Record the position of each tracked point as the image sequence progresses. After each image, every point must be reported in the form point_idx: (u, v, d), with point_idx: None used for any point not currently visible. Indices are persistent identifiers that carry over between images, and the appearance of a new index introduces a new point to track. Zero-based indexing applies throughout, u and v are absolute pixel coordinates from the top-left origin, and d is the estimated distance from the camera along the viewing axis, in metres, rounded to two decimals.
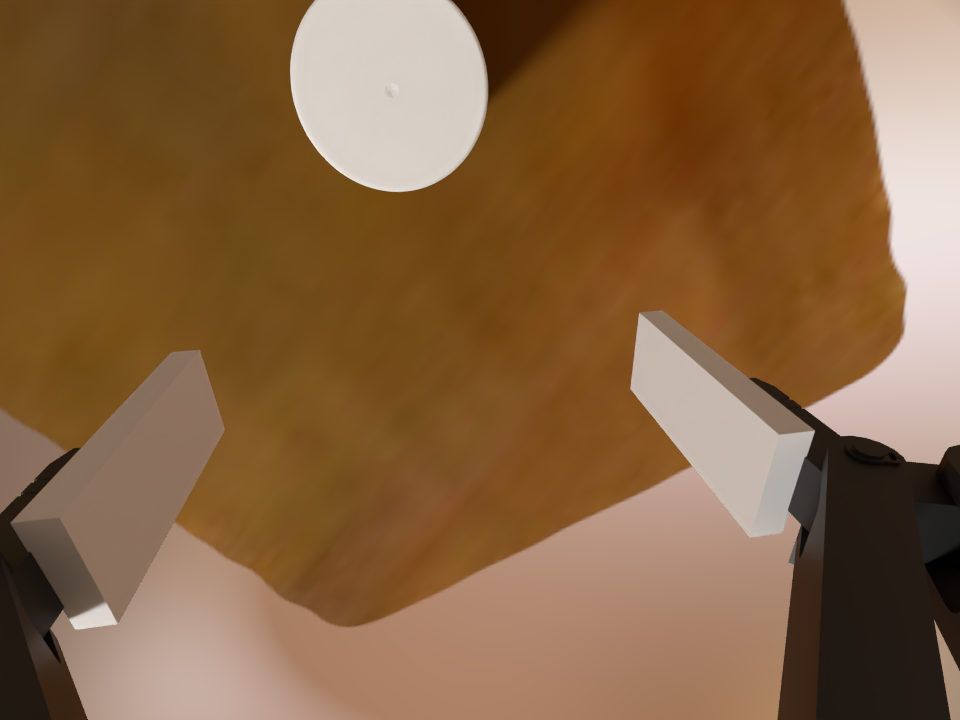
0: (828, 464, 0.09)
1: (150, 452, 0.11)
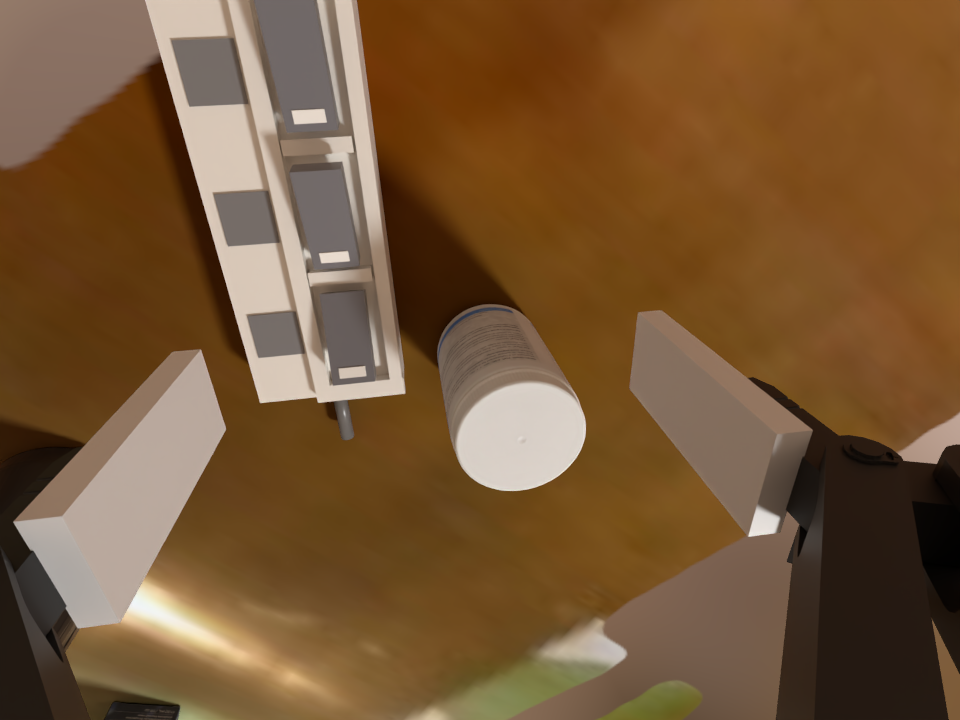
0: (826, 464, 0.09)
1: (152, 451, 0.11)
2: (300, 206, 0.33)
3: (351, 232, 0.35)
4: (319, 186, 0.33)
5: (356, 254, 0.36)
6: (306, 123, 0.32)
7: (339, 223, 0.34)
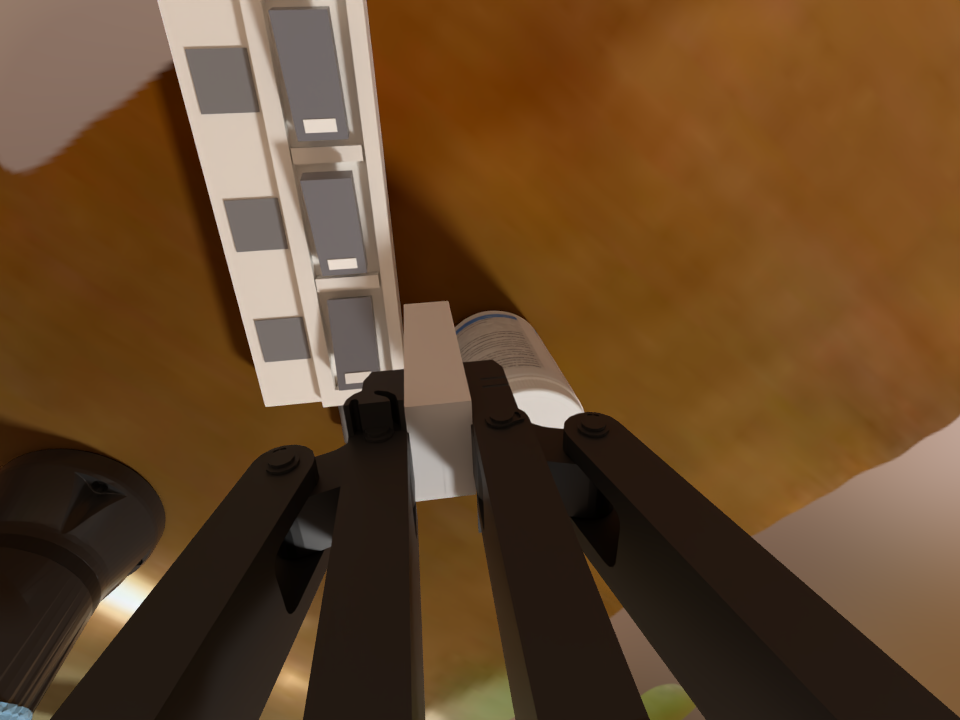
0: (477, 441, 0.10)
1: None
2: (310, 214, 0.34)
3: (359, 239, 0.35)
4: (329, 194, 0.33)
5: (364, 261, 0.36)
6: (317, 132, 0.32)
7: (348, 231, 0.35)
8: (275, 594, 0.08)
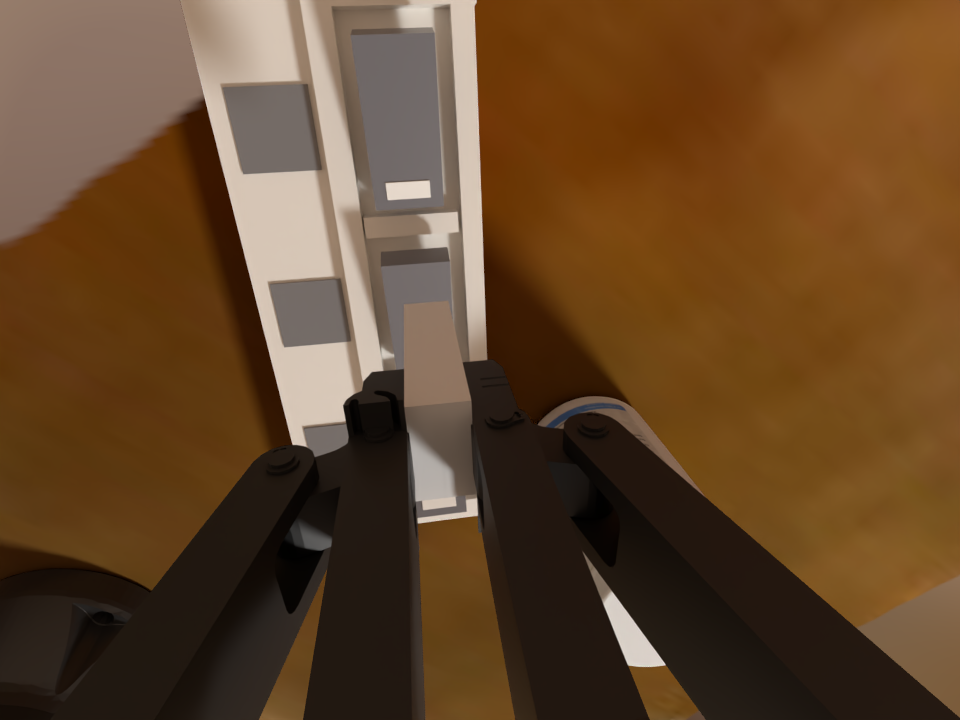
0: (477, 441, 0.10)
1: None
2: (390, 306, 0.25)
3: None
4: (418, 282, 0.24)
5: None
6: (403, 198, 0.23)
7: None
8: (275, 594, 0.08)
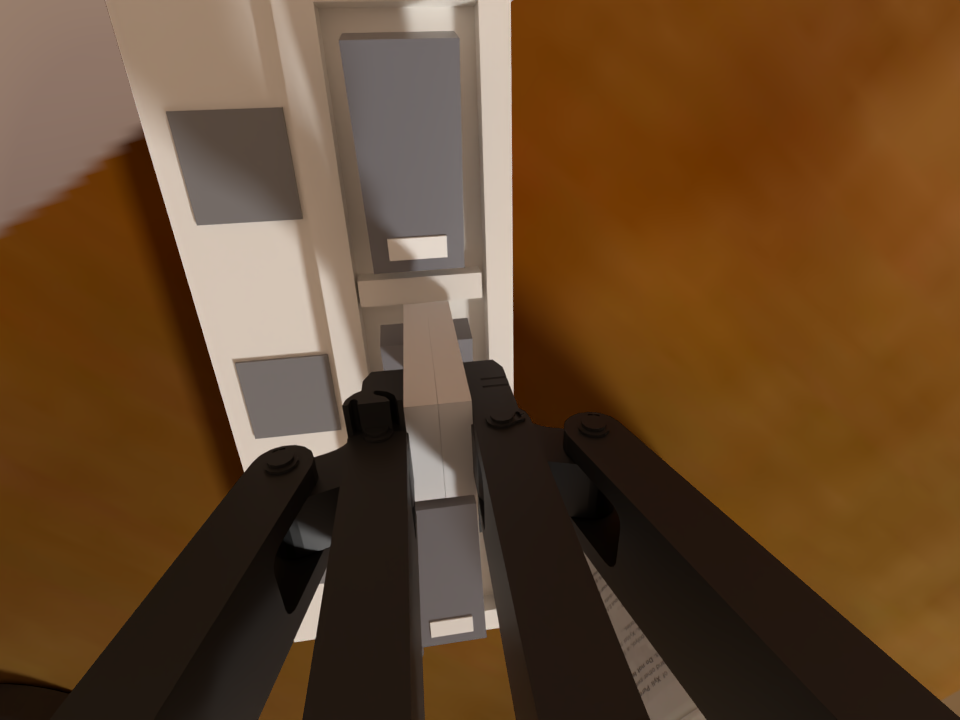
0: (478, 441, 0.10)
1: None
2: None
3: None
4: None
5: None
6: (411, 259, 0.18)
7: None
8: (274, 594, 0.08)
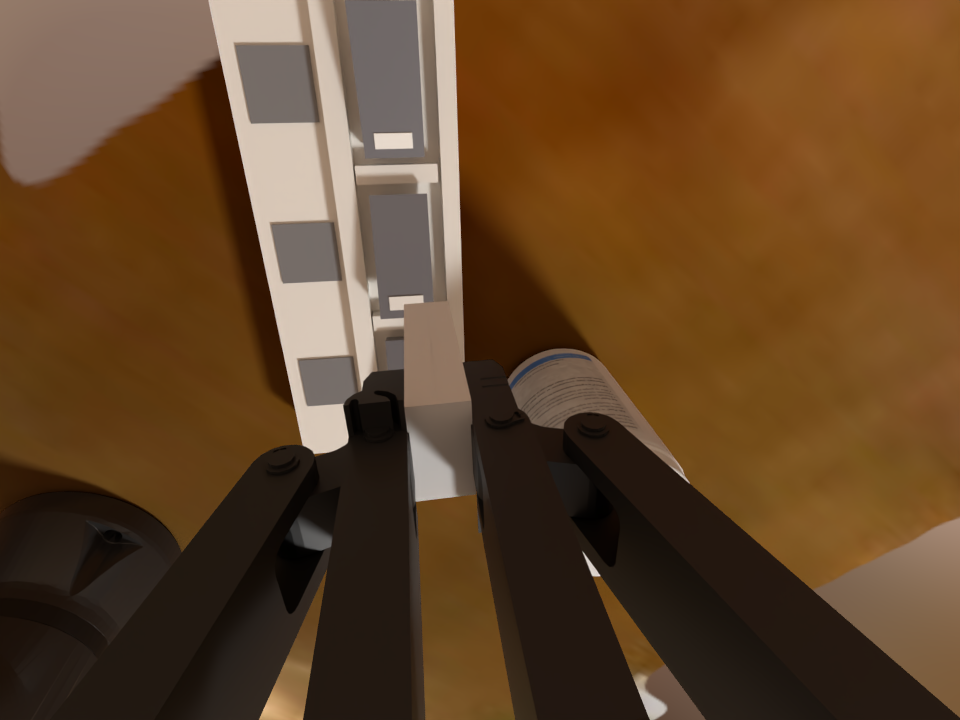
0: (477, 441, 0.10)
1: None
2: (375, 236, 0.29)
3: (429, 271, 0.30)
4: (400, 213, 0.28)
5: (432, 300, 0.30)
6: (389, 148, 0.27)
7: (417, 259, 0.29)
8: (275, 594, 0.08)
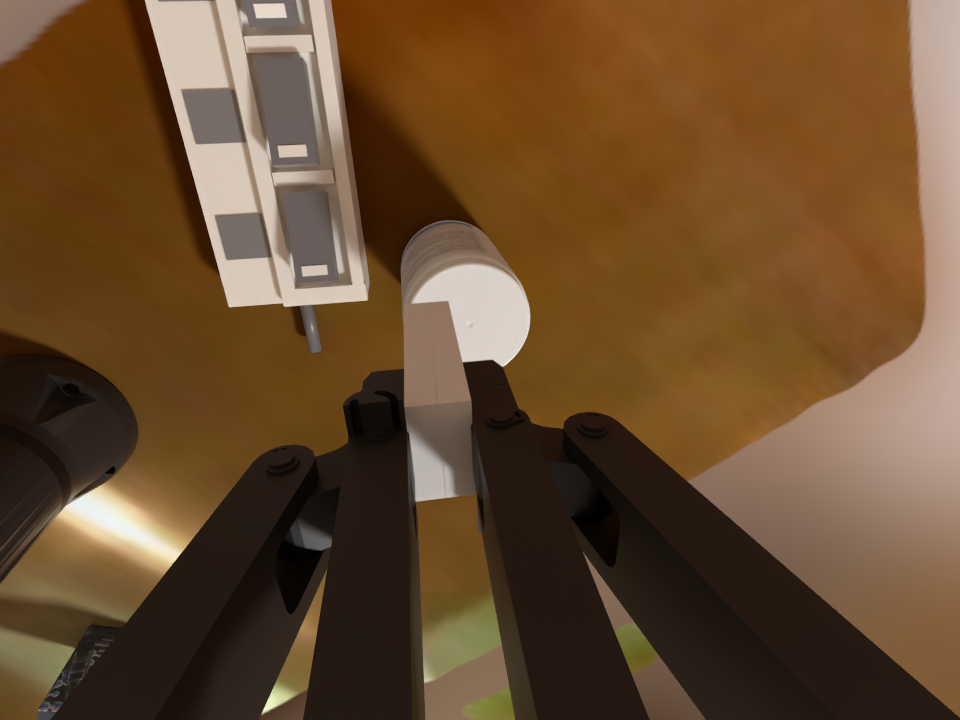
0: (478, 441, 0.10)
1: None
2: (263, 93, 0.36)
3: (310, 124, 0.37)
4: (282, 73, 0.36)
5: (314, 149, 0.37)
6: (267, 17, 0.34)
7: (299, 113, 0.36)
8: (275, 594, 0.08)
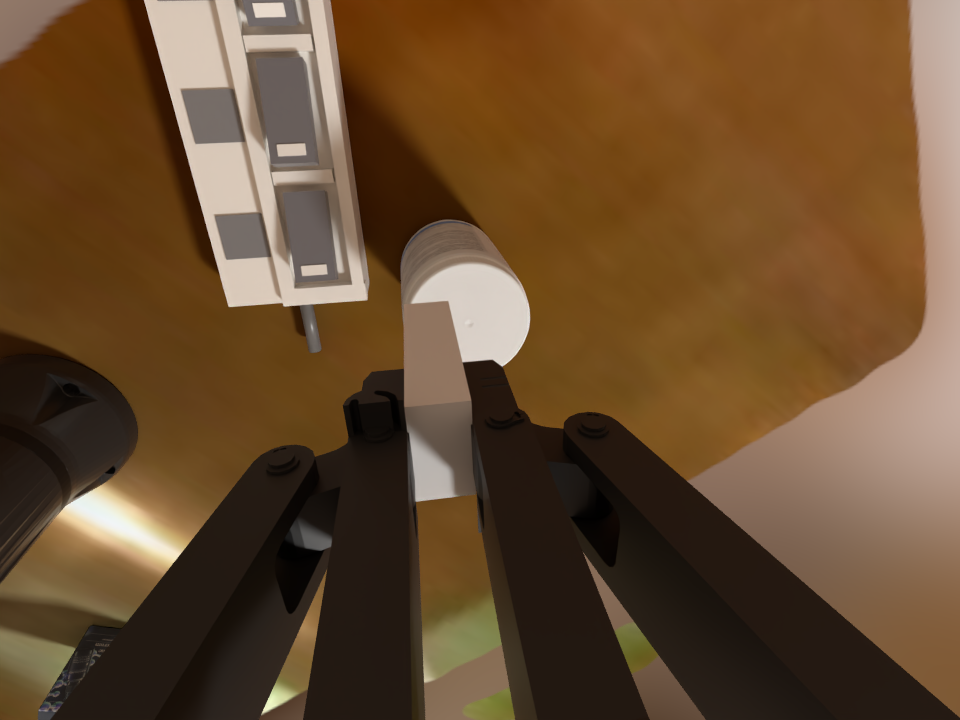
0: (477, 441, 0.10)
1: None
2: (262, 93, 0.36)
3: (309, 123, 0.37)
4: (281, 73, 0.36)
5: (313, 148, 0.37)
6: (266, 17, 0.34)
7: (298, 112, 0.36)
8: (275, 594, 0.08)
